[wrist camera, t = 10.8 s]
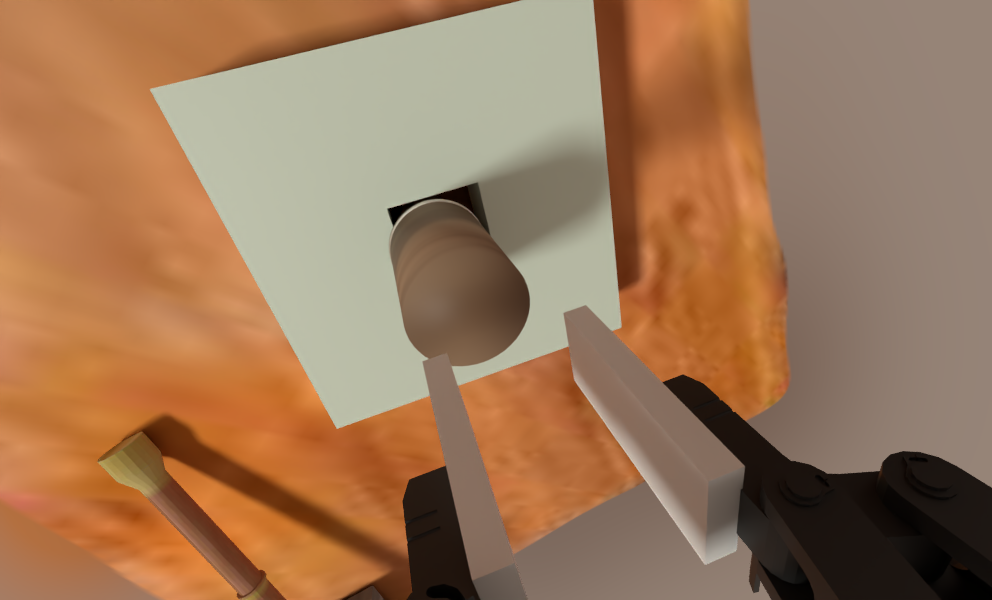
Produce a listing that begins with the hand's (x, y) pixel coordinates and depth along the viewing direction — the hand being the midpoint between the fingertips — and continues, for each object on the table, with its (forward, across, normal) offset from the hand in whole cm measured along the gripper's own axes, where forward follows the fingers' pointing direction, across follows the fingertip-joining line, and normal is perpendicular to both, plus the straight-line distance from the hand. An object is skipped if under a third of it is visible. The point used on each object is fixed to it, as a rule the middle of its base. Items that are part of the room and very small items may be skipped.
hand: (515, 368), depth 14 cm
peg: (+17, 0, 0) cm, 17 cm away
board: (+17, 0, 0) cm, 17 cm away
